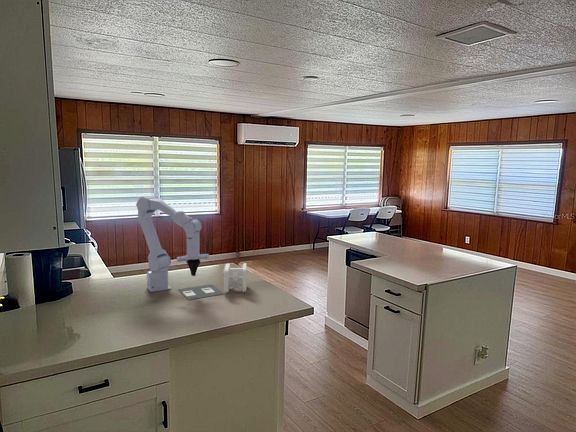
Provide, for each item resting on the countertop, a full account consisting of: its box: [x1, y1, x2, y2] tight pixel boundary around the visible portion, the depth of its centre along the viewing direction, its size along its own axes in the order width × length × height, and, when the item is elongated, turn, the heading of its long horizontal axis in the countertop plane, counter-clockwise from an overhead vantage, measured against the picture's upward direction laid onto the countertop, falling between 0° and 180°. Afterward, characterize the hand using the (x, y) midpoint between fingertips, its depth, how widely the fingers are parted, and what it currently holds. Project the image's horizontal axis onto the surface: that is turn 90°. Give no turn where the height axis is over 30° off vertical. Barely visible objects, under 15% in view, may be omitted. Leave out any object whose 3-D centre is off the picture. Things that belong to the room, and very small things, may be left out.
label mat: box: [177, 283, 225, 301], centre depth 184 cm, size 17×16×1 cm
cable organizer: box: [222, 262, 248, 294], centre depth 187 cm, size 15×11×12 cm
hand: (193, 275), depth 181 cm, fingers closed
